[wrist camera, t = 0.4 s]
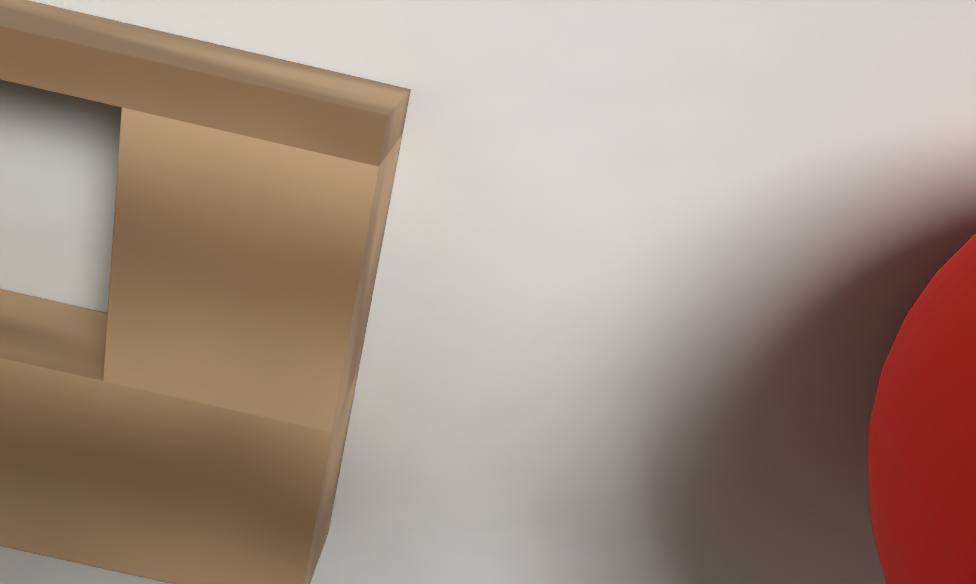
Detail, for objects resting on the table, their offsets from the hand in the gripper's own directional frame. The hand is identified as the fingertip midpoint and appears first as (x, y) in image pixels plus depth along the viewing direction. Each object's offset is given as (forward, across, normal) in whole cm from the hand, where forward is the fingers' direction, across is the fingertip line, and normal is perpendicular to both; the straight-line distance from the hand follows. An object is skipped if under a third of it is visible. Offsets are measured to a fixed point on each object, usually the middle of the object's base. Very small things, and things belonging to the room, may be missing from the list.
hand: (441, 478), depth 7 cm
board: (+13, +10, +6) cm, 18 cm away
